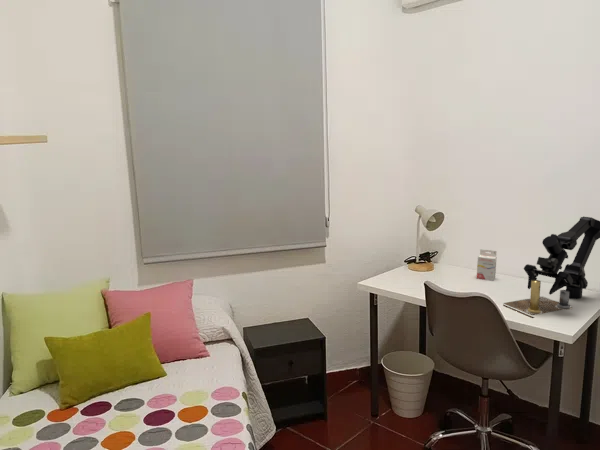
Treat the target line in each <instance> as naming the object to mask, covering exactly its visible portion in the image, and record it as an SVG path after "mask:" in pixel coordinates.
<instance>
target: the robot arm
mask: <svg viewBox="0 0 600 450" xmlns="http://www.w3.org/2000/svg"><path fill="white" fill-rule="evenodd" d="M583 234H584V236H583ZM581 236H583V239H582V241H581V243H580V245H579V247H578V250H577V252H576V254H575V256H574V259H573V260H572V263H570V264H566V265H565V267H564V269H563V266H562V265H563V263H564V262H565V260H566V259H569V255H568V252H567V251H573V250H574V249H575V248H576V246H577V245H578V239H579V238H580V237H581ZM599 239H600V220H599V219H596V218H593V217H590V216H580V217H579V220H578V221H577V222H576V223H574V225H572V227H570V229H568V230H567V231H565V232H561V233H559V234H555V233H551V234H550V235H548V236H547V237H545V238H543V239H542V243H541V244H542V245H543V247H544V249H545V250H546V252H547V253H548V254H549V255H548V257H543V256H542V257H541V256H538V258H537V261H536V265H537V266H539V268H540V269H538V267H537V266H536V265H532V264H529V263H528V264H525V266H524V267H523V270H524V272H525V274H526V275H527V277H528V281H527V289H528V290H531V281H532V280H538V278H537V277H539V275H540V276H543V277H544V276H545V277H549V278H553V279H554V282H553V284H552V286H551V287H550V289H549V292H548V294H549V295H552V294H555V292H557V291H558V290H559V291H560V290H562V288H564V287H565V290H567V291H569V300H572V299H573V300H580V299H581V298H582V297H583V290H584V289H585V290H587V287H588V284H589V283H588V280H587V279H586V271H585V266H586V264H587V262H588V260H589V258H590V255H591V253H592V251H593V248H594V246H595V245H596V242H597V240H599ZM566 250H567V251H566ZM562 269H563V270H562ZM560 270H562V271H560Z"/></svg>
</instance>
